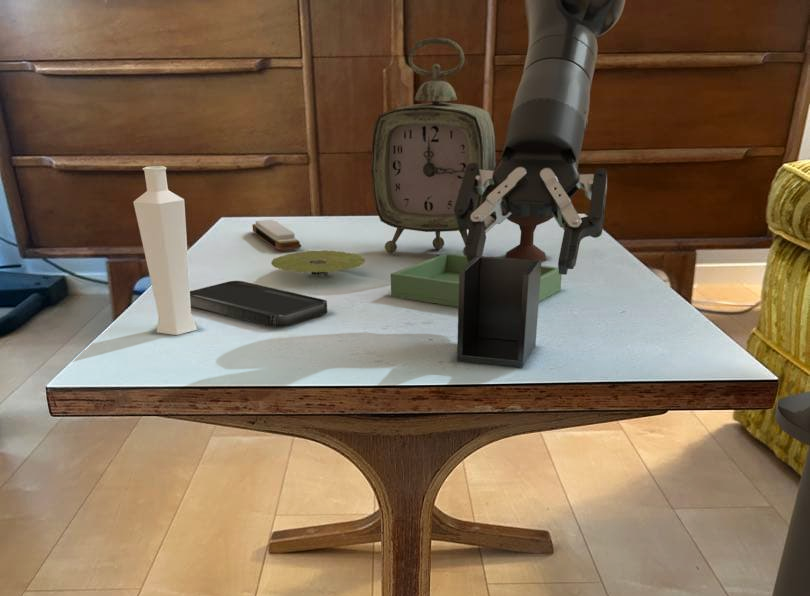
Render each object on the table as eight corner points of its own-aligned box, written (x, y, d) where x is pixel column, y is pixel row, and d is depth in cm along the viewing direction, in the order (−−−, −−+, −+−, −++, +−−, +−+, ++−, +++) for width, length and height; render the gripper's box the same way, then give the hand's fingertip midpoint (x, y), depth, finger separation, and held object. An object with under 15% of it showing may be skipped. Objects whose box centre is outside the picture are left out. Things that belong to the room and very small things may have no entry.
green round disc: (373, 267, 110) (372, 251, 109) (355, 289, 101) (355, 272, 100) (286, 264, 112) (285, 249, 111) (260, 286, 102) (259, 269, 101)
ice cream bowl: (467, 259, 114) (471, 132, 106) (516, 245, 121) (523, 126, 114) (535, 272, 108) (545, 138, 100) (583, 256, 115) (595, 130, 108)
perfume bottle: (146, 327, 88) (121, 166, 81) (189, 320, 90) (168, 163, 83) (160, 338, 85) (135, 172, 78) (203, 331, 87) (183, 168, 79)
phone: (277, 317, 87) (181, 293, 95) (278, 329, 87) (182, 303, 95) (332, 301, 92) (236, 279, 100) (332, 311, 92) (237, 289, 101)
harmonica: (301, 250, 119) (300, 235, 118) (279, 252, 118) (278, 237, 117) (273, 231, 131) (271, 217, 130) (252, 232, 130) (251, 218, 129)
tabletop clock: (373, 256, 116) (368, 38, 103) (393, 242, 123) (391, 37, 111) (480, 262, 112) (488, 37, 100) (494, 248, 120) (503, 37, 107)
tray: (560, 290, 100) (562, 268, 99) (512, 316, 91) (514, 291, 90) (445, 273, 107) (445, 252, 106) (390, 296, 98) (390, 273, 97)
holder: (535, 347, 82) (541, 259, 78) (522, 367, 77) (528, 275, 73) (473, 341, 84) (476, 255, 80) (456, 361, 79) (459, 270, 75)
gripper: (472, 93, 86) (438, 239, 82) (621, 96, 82) (592, 248, 78) (482, 147, 93) (452, 283, 89) (620, 151, 89) (593, 293, 85)
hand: (517, 266), depth 84 cm, fingers open, 8 cm apart
